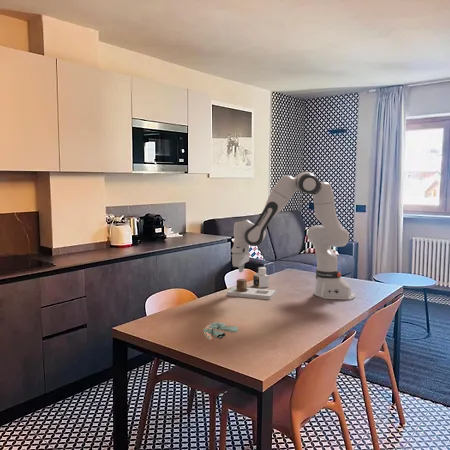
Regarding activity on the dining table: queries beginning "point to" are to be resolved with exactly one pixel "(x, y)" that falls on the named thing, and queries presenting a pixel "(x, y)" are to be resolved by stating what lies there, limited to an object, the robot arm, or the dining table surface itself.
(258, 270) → the medicine bottle
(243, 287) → the walnut block
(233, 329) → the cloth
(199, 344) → the dining table surface
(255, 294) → the parts plate
